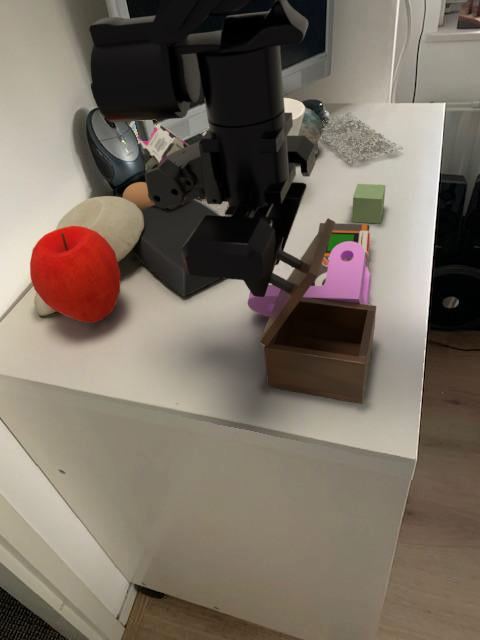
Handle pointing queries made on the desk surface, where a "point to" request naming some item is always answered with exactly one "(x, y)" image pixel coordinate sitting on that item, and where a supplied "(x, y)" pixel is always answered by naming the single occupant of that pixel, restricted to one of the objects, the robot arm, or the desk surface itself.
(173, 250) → the hard drive
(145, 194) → the egg
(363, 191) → the block
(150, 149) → the candy bar box
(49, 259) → the apple
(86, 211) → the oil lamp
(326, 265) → the electronic device
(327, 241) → the lid
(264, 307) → the bracket
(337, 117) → the rug
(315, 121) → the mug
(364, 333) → the chest
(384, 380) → the desk surface
